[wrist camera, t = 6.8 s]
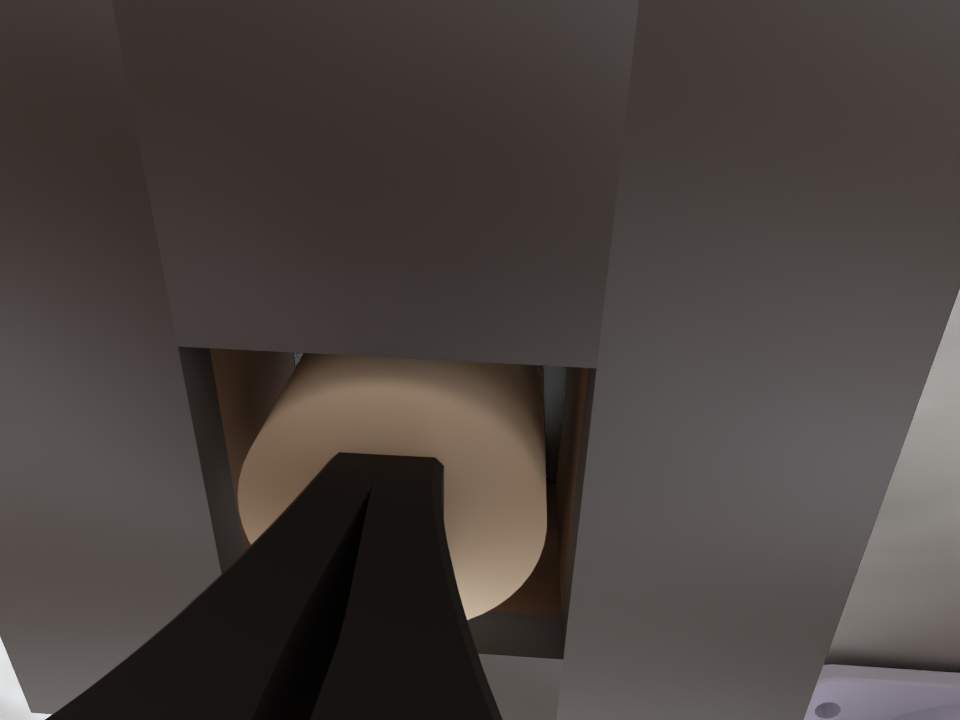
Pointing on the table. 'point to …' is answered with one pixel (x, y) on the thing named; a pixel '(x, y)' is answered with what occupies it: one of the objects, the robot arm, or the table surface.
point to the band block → (479, 304)
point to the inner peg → (419, 452)
